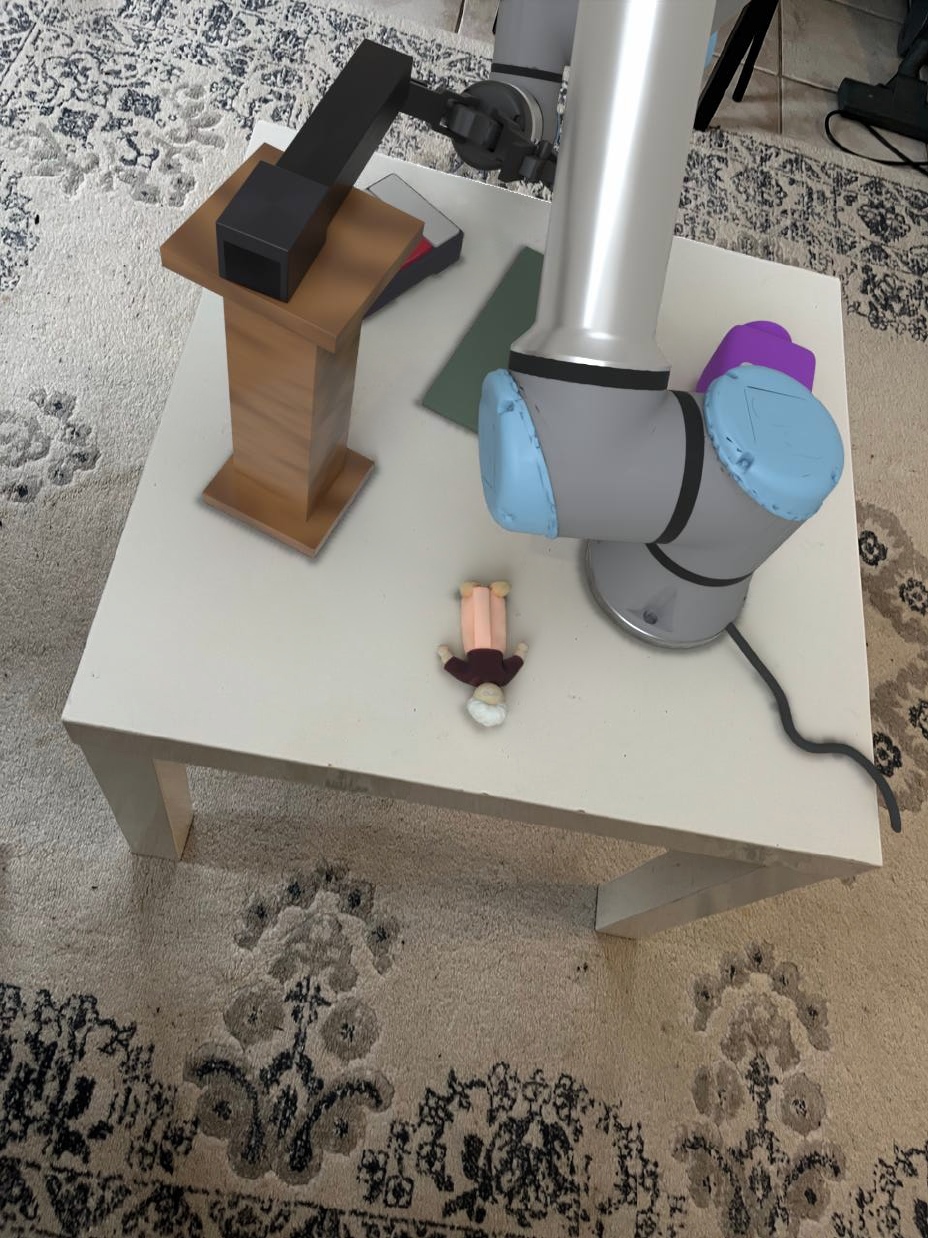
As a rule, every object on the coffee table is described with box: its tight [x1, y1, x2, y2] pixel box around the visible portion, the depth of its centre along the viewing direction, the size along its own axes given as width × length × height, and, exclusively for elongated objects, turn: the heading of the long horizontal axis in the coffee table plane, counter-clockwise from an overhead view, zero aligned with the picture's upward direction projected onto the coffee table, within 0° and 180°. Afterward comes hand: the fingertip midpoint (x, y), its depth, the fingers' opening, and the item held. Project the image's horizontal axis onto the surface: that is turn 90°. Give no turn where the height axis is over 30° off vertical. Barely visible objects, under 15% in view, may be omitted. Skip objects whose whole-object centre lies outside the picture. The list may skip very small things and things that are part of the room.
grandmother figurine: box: [436, 581, 529, 727], centre depth 75 cm, size 8×4×13 cm
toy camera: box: [694, 320, 817, 394], centre depth 90 cm, size 11×14×10 cm
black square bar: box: [215, 37, 414, 303], centre depth 57 cm, size 22×4×4 cm, turn 161°
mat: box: [421, 245, 544, 434], centre depth 93 cm, size 26×11×1 cm, turn 155°
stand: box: [159, 141, 425, 560], centre depth 68 cm, size 12×12×28 cm
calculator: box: [361, 172, 465, 320], centre depth 93 cm, size 11×4×15 cm
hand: (429, 123), depth 69 cm, fingers open, 13 cm apart
